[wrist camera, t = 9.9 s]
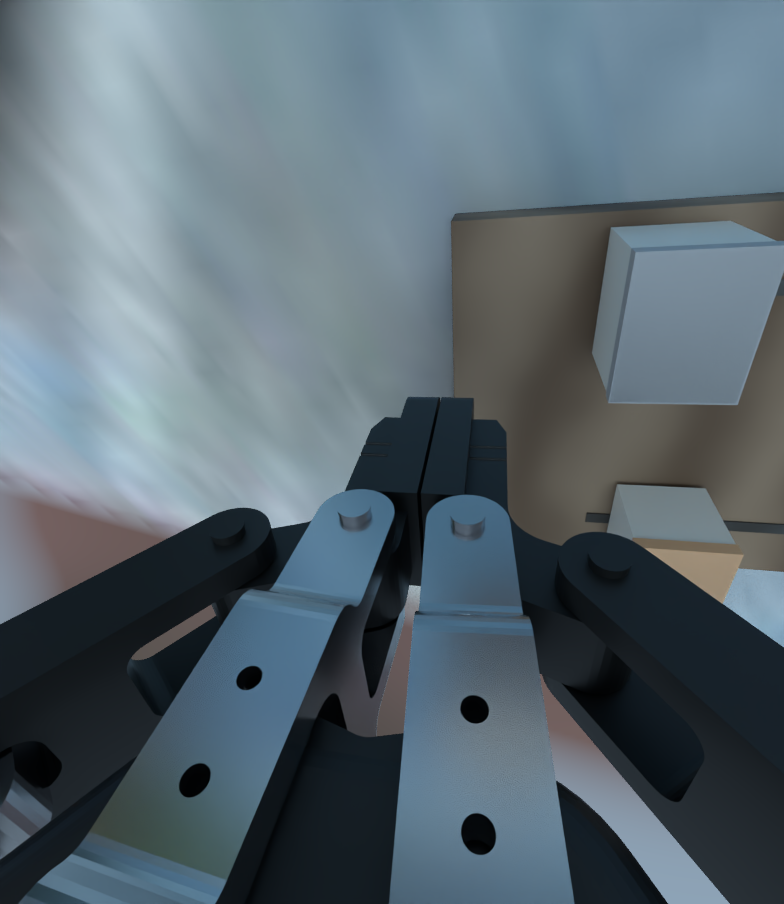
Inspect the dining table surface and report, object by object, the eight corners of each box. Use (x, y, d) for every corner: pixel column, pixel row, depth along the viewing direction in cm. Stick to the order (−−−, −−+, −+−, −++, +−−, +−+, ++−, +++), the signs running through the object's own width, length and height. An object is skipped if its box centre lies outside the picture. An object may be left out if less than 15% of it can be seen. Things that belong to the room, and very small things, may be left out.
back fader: (706, 487, 23) (743, 555, 20) (681, 561, 26) (709, 633, 23) (616, 483, 24) (635, 547, 21) (600, 555, 27) (615, 623, 23)
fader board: (1182, 166, 16) (1263, 171, 14) (909, 554, 26) (938, 584, 24) (455, 213, 21) (450, 221, 19) (459, 524, 31) (456, 548, 29)
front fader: (732, 219, 17) (793, 245, 14) (695, 353, 20) (737, 405, 16) (609, 226, 18) (635, 252, 14) (590, 354, 21) (608, 403, 17)
